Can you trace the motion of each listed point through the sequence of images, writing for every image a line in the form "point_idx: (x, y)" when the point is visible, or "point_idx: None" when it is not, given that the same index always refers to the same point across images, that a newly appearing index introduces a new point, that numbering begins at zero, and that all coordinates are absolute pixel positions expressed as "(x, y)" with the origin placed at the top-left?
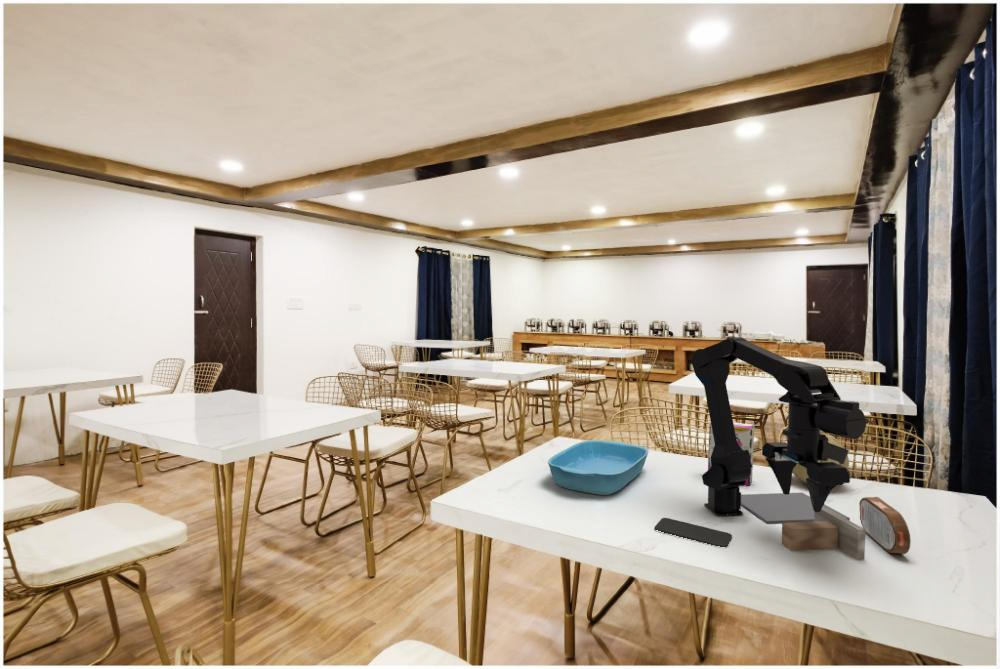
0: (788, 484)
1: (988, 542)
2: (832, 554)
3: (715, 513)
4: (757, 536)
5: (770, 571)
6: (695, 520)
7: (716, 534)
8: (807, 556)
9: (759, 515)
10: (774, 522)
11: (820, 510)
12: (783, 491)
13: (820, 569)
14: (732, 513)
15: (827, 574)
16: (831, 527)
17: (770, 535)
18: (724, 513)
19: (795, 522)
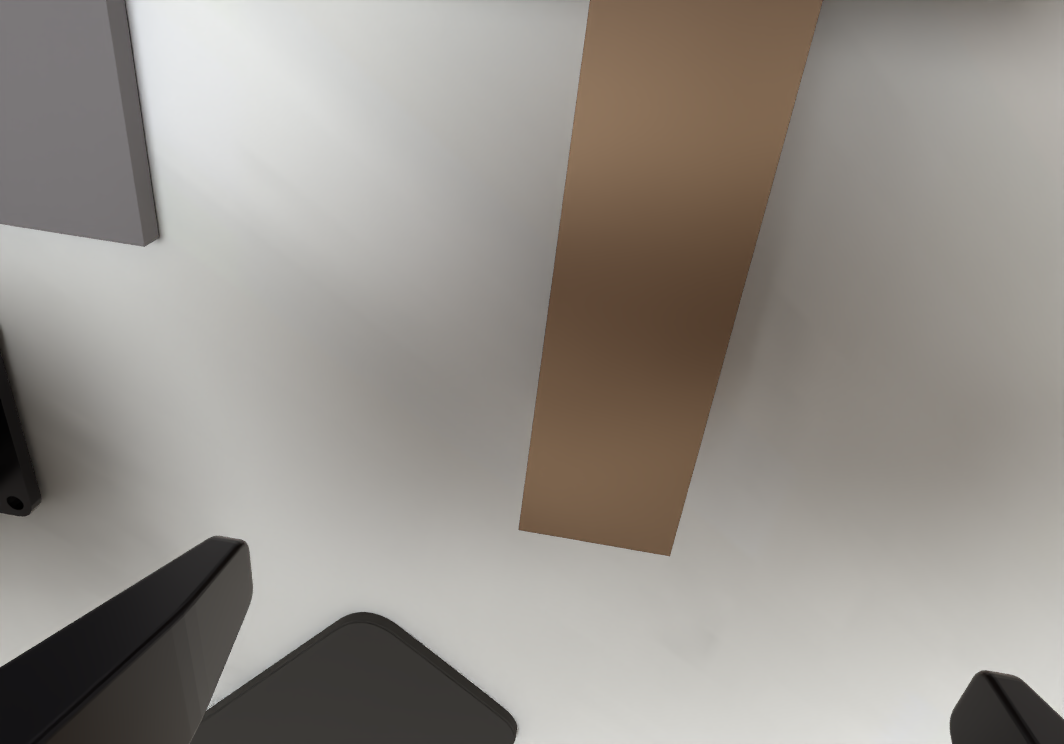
0: (145, 691)
1: None
2: (845, 142)
3: (14, 510)
4: (395, 475)
5: (842, 713)
6: None
7: (361, 691)
8: (783, 384)
9: (14, 222)
10: (142, 165)
11: (1032, 695)
12: (225, 644)
13: (980, 453)
14: (3, 411)
15: (1058, 465)
16: (787, 97)
17: (389, 377)
18: (16, 469)
19: (537, 409)
